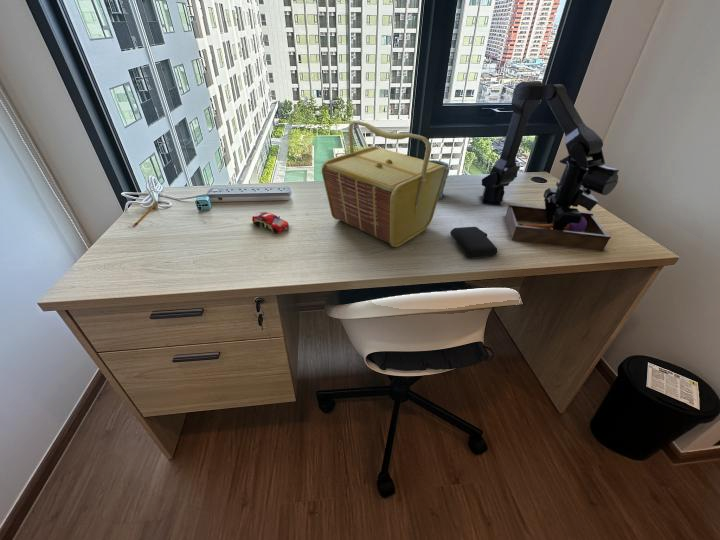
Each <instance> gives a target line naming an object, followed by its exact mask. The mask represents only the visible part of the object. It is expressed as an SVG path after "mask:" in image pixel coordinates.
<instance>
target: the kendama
mask: <svg viewBox="0 0 720 540" xmlns="http://www.w3.org/2000/svg"><path fill="white" fill-rule="evenodd" d="M519 225H521V226H530V227H539V228H548V229H553V223H551V224H547V223H520V224H519ZM586 226H587V221H586V219H585V218H584V217H583V218H582V220H581V222H580V223H579V224H577V223H570V224H568V225H567V226H566V227H565V228H564V229H563V230H566V231H574V232H583V233H584V231H586V229H585V228H586Z"/></svg>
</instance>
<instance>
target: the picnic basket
mask: <svg viewBox="0 0 720 540" xmlns="http://www.w3.org/2000/svg"><path fill="white" fill-rule="evenodd" d="M355 125H358V126H362V127H365V128H366V129H367V130H368V131H370V132H371V134H372V133H373V134H374V135H376V136H378V137H381V138H384V139H388V140H405V139H408V138H410V139H414V140H419V141H422V142H423V143H424V144H425V152H424V157H423V159H422V158H417V157H414V156H410V155H407V154H403V153H401V152H396V151H393V150H389V149H386V148H383V147H379V146H376V145H371V146H367V147H365V148H361V149H358V150H354V132H353V129H354V126H355ZM347 129H348V147H349V152H348V153H345V154H342V155H338V156H335V157H332V158H328V159H327V160H325V161H324V162H323V163H322V165H321V167H320V168H321V176H322V181H323V184H324V188H325V193H326V197H327V201H328V206H329V210H330V213H331V216H332V218H333V219H335V220H337V221H341V222H343V223H345V224H347V225H349V226H351V227H353V228H356V229H358V230H360V231H362V232H364V233H366V234H368V235H370V236H373V237H375V238H377V239H379V240H381V241H383V242H385V243H387V244H389V245H390V246H391V247H392V248H398V247H400V246H402V245H403V244H405V243H406V242H408V241H410V240H411V239H413V238H414V237H416V236H418V235H419V234H421V233H422V232H424V231H425V230H426V229H428V227H429V226H430V224H431V223H432V220H433V217H434V214H435V210H436V208H437V205H438V201H439V199H438V198H439V195H440V192H441V189H442V186H443V183H444V179H445V176H446V173H447V167H446V166H444V165H439V164H436V163H432V162H429V160H430V158H431V157H430V156H431V152H432V145H431V142H430V140H429V139H428V138H427V137H426V136H423V135H421V134H415V133H411V132H390V131H389V132H388V131H385V130H383V129H380V128H379V127H376V126H374V125H372V124H370V123H367V122H364V121H362V120H361V121H360V120H352V121H351V122H350V123H349V124H348V128H347Z"/></svg>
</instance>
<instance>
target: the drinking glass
mask: <svg viewBox="0 0 720 540" xmlns="http://www.w3.org/2000/svg"><path fill="white" fill-rule="evenodd" d="M429 162H432V163H436V164H439V165H444V166H446V167H447V173H446V176H445V179H444V183H443V186H442V189H441V192H440V195H439V198H438V200H440V199H442V197H443V194H444V190H445V187H446V182H447V179H448V176H449V172H450V170H451V169H450V168H451V165H450V164H449V163H447V162H445V161H441V160H436V159H431V160H430V159H429Z"/></svg>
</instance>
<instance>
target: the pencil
mask: <svg viewBox="0 0 720 540" xmlns="http://www.w3.org/2000/svg"><path fill="white" fill-rule="evenodd" d="M158 204H159V201H158V200H157V201H156V202H155V203H154V204H153V205H152V206H151V207H150V208H149V209H148V210H147V211H146V212H145V213H144V214H143V215H142V216H141V217H140V218H139V219H138V220H137V221H136V222H135V223H134V224H133V225H132V228H135V227H137V226H138V224H139V223H140V222H141V221H143V219H144V218H145V217H147V215H148V214H149V213H150V212H151V211H152V210H153V209H154V208H155V207H156V206H158Z"/></svg>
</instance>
